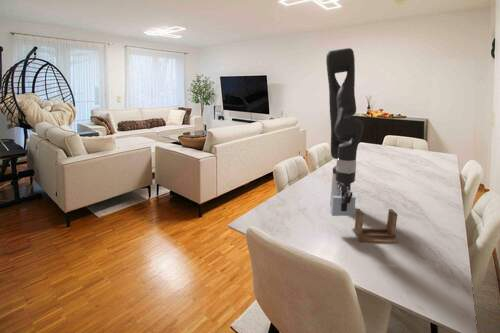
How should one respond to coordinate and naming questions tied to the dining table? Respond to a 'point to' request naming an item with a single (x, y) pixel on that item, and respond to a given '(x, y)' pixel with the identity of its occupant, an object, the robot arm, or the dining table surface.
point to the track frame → (376, 229)
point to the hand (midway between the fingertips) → (342, 209)
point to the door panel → (337, 206)
